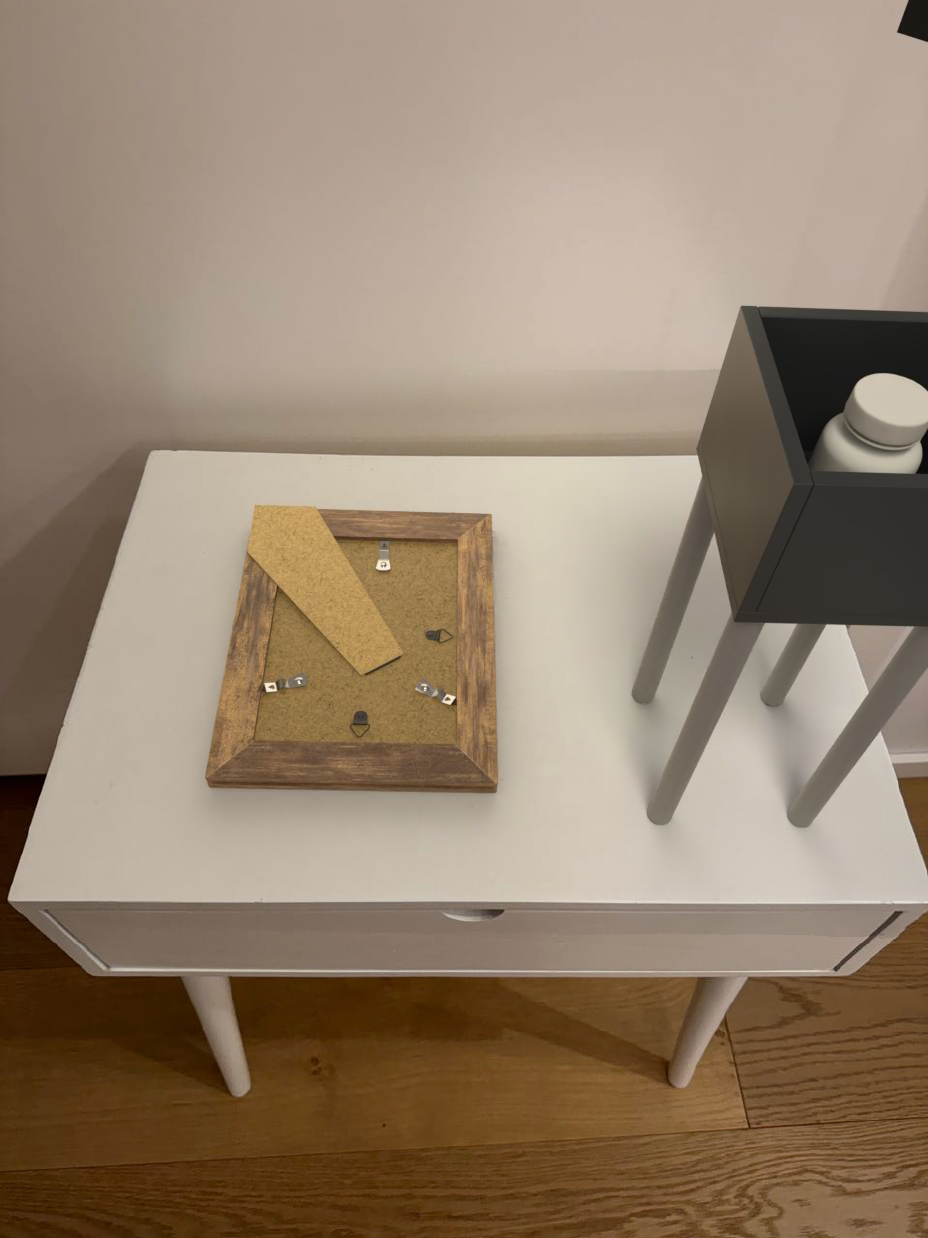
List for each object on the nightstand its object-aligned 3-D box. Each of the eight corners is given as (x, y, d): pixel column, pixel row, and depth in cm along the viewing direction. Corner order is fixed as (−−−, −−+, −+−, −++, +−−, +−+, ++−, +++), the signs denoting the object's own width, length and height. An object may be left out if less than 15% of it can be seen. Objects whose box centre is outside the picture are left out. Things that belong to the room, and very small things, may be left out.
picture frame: (257, 520, 76) (208, 789, 62) (254, 504, 74) (203, 775, 60) (490, 527, 77) (496, 794, 62) (492, 511, 75) (498, 781, 61)
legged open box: (785, 683, 68) (989, 313, 44) (822, 834, 61) (1090, 492, 37) (624, 680, 68) (740, 304, 44) (642, 831, 61) (794, 484, 37)
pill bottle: (890, 557, 45) (964, 433, 39) (799, 557, 45) (859, 432, 39) (863, 491, 48) (929, 365, 42) (777, 491, 48) (830, 364, 42)
